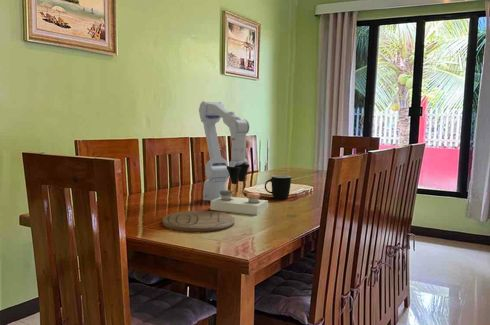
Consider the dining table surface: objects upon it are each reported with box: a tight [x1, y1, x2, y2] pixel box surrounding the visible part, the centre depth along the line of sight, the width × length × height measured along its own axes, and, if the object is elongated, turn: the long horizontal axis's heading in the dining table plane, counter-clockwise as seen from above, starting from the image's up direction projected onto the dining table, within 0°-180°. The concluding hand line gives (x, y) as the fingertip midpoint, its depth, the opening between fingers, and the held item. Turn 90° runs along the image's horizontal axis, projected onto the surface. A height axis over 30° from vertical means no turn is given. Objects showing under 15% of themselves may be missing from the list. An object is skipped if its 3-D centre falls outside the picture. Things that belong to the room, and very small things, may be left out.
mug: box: [264, 174, 292, 200], centre depth 204 cm, size 12×9×10 cm
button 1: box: [220, 189, 233, 201], centre depth 180 cm, size 5×5×4 cm
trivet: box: [162, 210, 235, 234], centre depth 155 cm, size 25×25×2 cm
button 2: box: [246, 192, 261, 204], centre depth 175 cm, size 5×5×4 cm
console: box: [210, 196, 269, 216], centre depth 178 cm, size 20×12×4 cm, turn 68°
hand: (237, 182), depth 180 cm, fingers open, 7 cm apart
